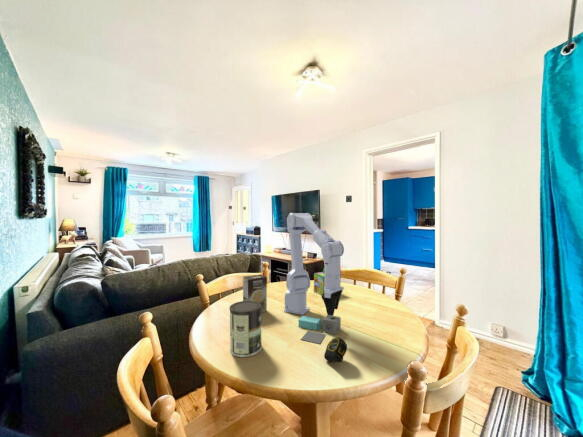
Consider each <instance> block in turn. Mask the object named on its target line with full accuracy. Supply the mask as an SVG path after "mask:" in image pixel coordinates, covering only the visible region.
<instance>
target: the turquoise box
mask: <svg viewBox="0 0 583 437" xmlns="http://www.w3.org/2000/svg"><path fill="white" fill-rule="evenodd" d="M322 327H323V318H317V317H314V316H313V317H312V316H306V315H302V316H301V317H300V318H299V319H298V328H304V329H307V330H308V329H309V330H312V331H313V330H314V331H317V332H318V331H319V330H320V329H321V328H322Z"/></svg>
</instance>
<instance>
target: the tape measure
mask: <svg viewBox="0 0 583 437" xmlns="http://www.w3.org/2000/svg"><path fill="white" fill-rule="evenodd" d="M347 350H348V344H347V343H346V341H345V340H344V339H343V338H342V337H339V336H334V337H333V338H331V340H330V341H329V342H328V343H327V345H326V348H325V351H324V355H323V356H324V357H323V358H324V359H325V361H328V362H337V363H342V362H343V361H344V356H345V355H346V353H347Z"/></svg>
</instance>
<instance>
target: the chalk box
mask: <svg viewBox="0 0 583 437" xmlns="http://www.w3.org/2000/svg"><path fill="white" fill-rule="evenodd" d="M324 286H325V266H324V267H323V270H322V272H314V273H313V293H315V294H317V295H320V296H321V297H322V294H324V292H325V290H324Z"/></svg>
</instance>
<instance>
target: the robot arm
mask: <svg viewBox="0 0 583 437" xmlns="http://www.w3.org/2000/svg"><path fill="white" fill-rule="evenodd" d="M286 228H287V232H288V233H289V242H290V243H289V244H290V246H289V247H290V255H291V256H290V257H291V258H290V259H291V260H290V261H291V270H289V271H288V273H287V274H286V283H285V284H286V288H287V290H286V291H285V293H284V310H283V312H285V313H290V314H295V315H296V314H297V315H302V316H305V314H306V313H307V312H308V311H309V310H310V307H307V292H308V291H309V289H310V287H311V279H310V276H309V271H307V270H305V269H304V259H303V247H302V244H303V243H302V233H303V232H305V231H306V230H307V232H309V233H310V234H311V235H312V240H313V241H314V242H315V244H316V245H317V246H318V247H319V248H320V252H321V255H322V261H323V262H324V267H325V286H324V290H325V292H324V294H322V296H321V299H322V301H323V303H324V306H325V311H326V316H327V315H332V316H335V315H334V314H335V310H338V309H339V303H340V299H341V295H342V293H343V291H344V289H345V287H344V286H341V257H342V256H343V255H344V251H345V248H344V244H343V243H342V242H341V240H335V239H334V238H333V237H332V236H331V235H330V234H328V232H327V230H326V229H320V228H319V227H318V225H317V224H316V223H315V221H313V215H311V214H310V212H305V213H303V212H301V213H300V212H298V213H297V212H296V213H295V212H294V213H293V212H290V213H289V214H288V216H287V218H286Z"/></svg>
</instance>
